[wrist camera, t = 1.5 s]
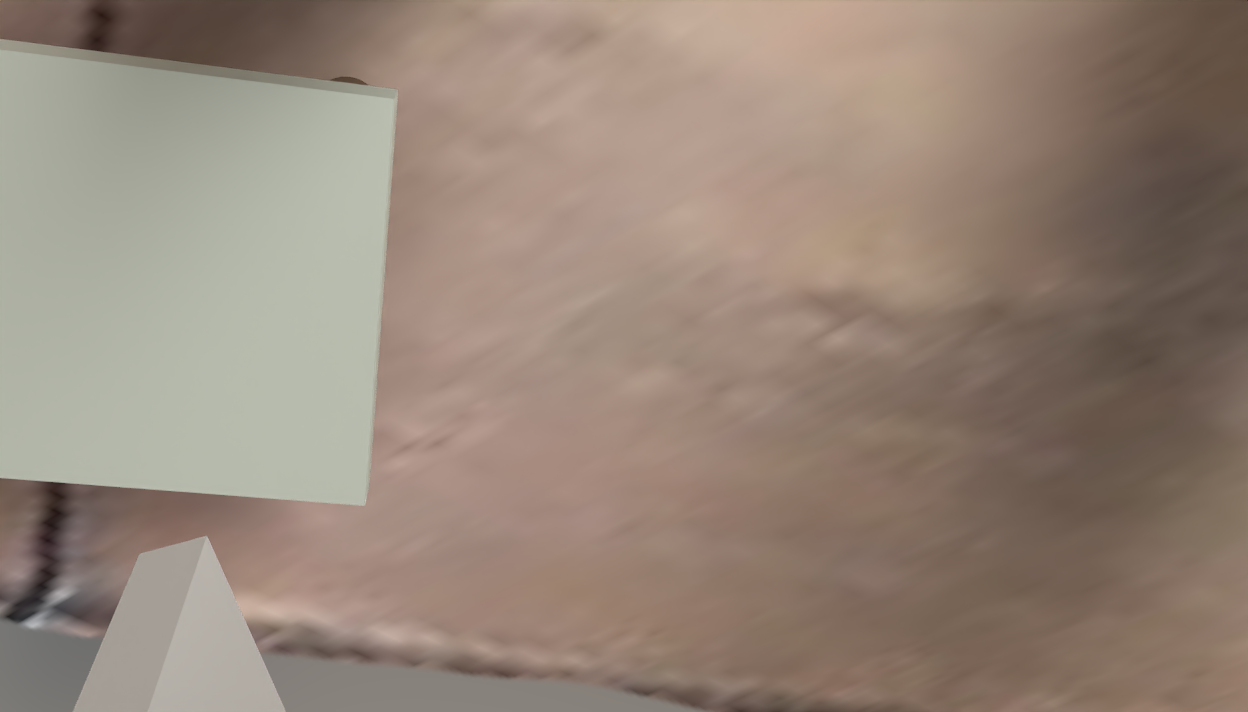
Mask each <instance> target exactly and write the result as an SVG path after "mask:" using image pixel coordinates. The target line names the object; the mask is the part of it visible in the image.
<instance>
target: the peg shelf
mask: <svg viewBox="0 0 1248 712" xmlns="http://www.w3.org/2000/svg"><path fill="white" fill-rule="evenodd" d="M397 99H398V89H392V88H384V87H376V86H369V85H367V84H366V83H364V82H363V81H361V80H359V79H355V78H351V77H339V78H335V79H332V80H330V81H329V80H321V79H313V78H305V77H297V76H289V75H281V74H274V73H266V72H258V71H250V70H242V69H234V68H226V67H218V66H210V65H202V64H195V63H187V62H179V61H171V60H163V59H155V58H147V57H139V56H131V55H124V54H116V53H108V52H100V51H92V50H84V49H76V48H68V47H60V46H52V45H45V44H37V43H29V42H21V41H13V40H5V39H0V478H8V479H21V480H34V481H47V482H60V483H73V484H86V485H99V486H112V487H125V488H138V489H151V490H165V491H178V492H191V493H204V494H217V495H230V496H243V497H256V498H269V499H282V500H295V501H308V502H321V503H334V504H347V505H361V506H365V504H366V500H367V495H368V490H369V485H370V472H371V458H372V444H373V430H374V417H375V403H376V389H377V375H378V361H379V348H380V334H381V320H382V306H383V292H384V279H385V265H386V251H387V237H388V223H389V209H390V196H391V182H392V168H393V154H394V140H395V127H396V113H397Z"/></svg>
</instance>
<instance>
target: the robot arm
mask: <svg viewBox="0 0 1248 712" xmlns="http://www.w3.org/2000/svg"><path fill="white" fill-rule="evenodd" d="M73 712H286V711H285V709H284V707H283V704H282V702H281V700H280V698H279V695H278V693H277V691H276V689H275V686H274V684H273V682H272V680H271V678H270V675H269V673H268V671H267V669H266V666H265V664H264V662H263V660H262V657H261V655H260V653H259V651H258V648H257V646H256V644H255V642H254V639H253V637H252V635H251V633H250V631H249V628H248V626H247V624H246V622H245V619H244V617H243V615H242V613H241V610H240V608H239V606H238V604H237V602H236V599H235V597H234V595H233V593H232V590H231V588H230V586H229V584H228V581H227V579H226V577H225V575H224V573H223V570H222V568H221V566H220V564H219V561H218V559H217V557H216V555H215V552H214V550H213V548H212V546H211V544H210V541H209V539H208V537H207V536H204V537H200V538H196V539H193V540H189V541H185V542H182V543H178V544H174V545H170V546H167V547H163V548H159V549H156V550H152V551H148V552H144V553H141V554H139V556H138V559H137V561H136V563H135V566H134V568H133V570H132V573H131V575H130V578H129V580H128V582H127V585H126V587H125V589H124V592H123V594H122V596H121V599H120V601H119V604H118V606H117V608H116V611H115V613H114V615H113V618H112V620H111V623H110V625H109V627H108V630H107V632H106V634H105V637H104V639H103V641H102V644H101V646H100V649H99V651H98V653H97V656H96V658H95V661H94V663H93V665H92V667H91V670H90V672H89V675H88V677H87V679H86V682H85V684H84V686H83V689H82V691H81V694H80V696H79V699H78V701H77V703H76V705H75V708H74V710H73Z"/></svg>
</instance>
